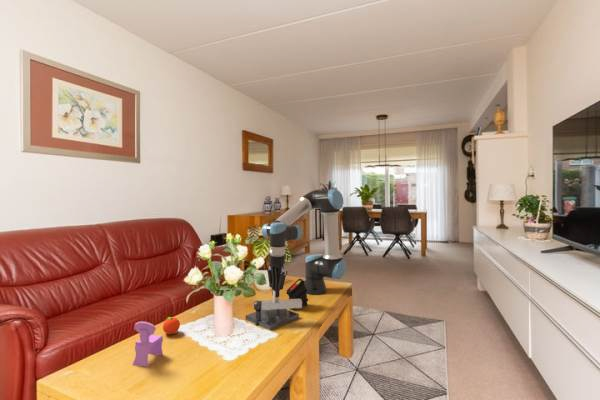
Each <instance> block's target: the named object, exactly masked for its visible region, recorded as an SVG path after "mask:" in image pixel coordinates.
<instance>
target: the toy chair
mask: <svg viewBox="0 0 600 400" xmlns="http://www.w3.org/2000/svg"><path fill="white" fill-rule="evenodd" d="M156 329H157V328H156V326H155V324H153V323H150V322H147V321H138V322H136V323H135V324H134V330H135V331H136V332H137V333H139V339H138V340H136V341H135V344H134V351H135V358H134V360H133V362H132V366H140V367H147V368H148V367H149V360H148V359H149V357H148V356H149V354H150V355H155V356H156V355H157V356H164V355H163V348H162V345H163V342H164V341H163V340H164V338H163V335H158V334H154V333H155V331H156Z"/></svg>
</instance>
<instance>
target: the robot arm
mask: <svg viewBox="0 0 600 400" xmlns="http://www.w3.org/2000/svg"><path fill="white" fill-rule="evenodd" d="M343 205H344V197H343V194H342V192H341V191H340V190H339V189H331V188H330V189H313V190H311V191H309V192H307V193H306V194H304V195H303V196H301V197H300V198H299V199H298V202H297V203H295V204H294V205H292V206H291V207H290V208H289V209H288V210H286V211H285V212H284V213H283V214H281V215H280V216H279V217H277V218H276V219H275V220H274V221H273V222H271V223H265V224H263V225H262V227H261V235H262V236H263V237H264V238H267V239H268V238H269V251H268V252H269V255H268V257H269V258H268V263H270V264H269V266H266V272H267V279H268V285H269V288H271V290H272V293H271V294H272V300H280V299H279V297H280V291H282V290H283V289H284V286H285V281H286V277H287V275H288V271H286V270H285V267H284V264H285V262H286V256H285V254H286V242H290V241H296V240H299V239H301V237H302V236H303V229H302V228H301V226H300V225H297V224H294V223H295V222H296V221H297V220H299V219H300V218H301V217H302V216H303V215H304V214H305V213H308V212H310V211H312V210H314V209H315V210H317V209H320V214H321V215H322V217H323V238H324V254H323V253H317V254H315V253H314V254H309V255H306V257H305V262H304V264H305V265H304V267H305V278H304V281H305V283H304V284H305V288H306V289H307V291H306V293H307V295H323V294H325V293H326V292H327V286H326V282H325V278H328V279H333V280H340V279H342V278H343V277H344V275H346V274H345V273H346V271H347V262H346V261H345V260H344V259H343V255H342V254H341V253H340V241H339V240H340V239H339V219H338V214H339V213H340V212H341V211H340V210H341V209H342V208H343V207H344V206H343Z"/></svg>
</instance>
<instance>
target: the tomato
mask: <svg viewBox="0 0 600 400" xmlns="http://www.w3.org/2000/svg"><path fill="white" fill-rule="evenodd" d="M164 320H165V321H163V324H162V330H163V332H164V333H165V334H167V335H174V334H176V333H177V332H178V330H179V329H180V326H181V323H180V320H179V319H178V318H177V317H175V316H173V317H171V316H168V317H166V318H165V319H164Z"/></svg>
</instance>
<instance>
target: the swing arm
mask: <svg viewBox="0 0 600 400" xmlns="http://www.w3.org/2000/svg"><path fill="white" fill-rule="evenodd" d="M290 308H299V309H303V307H302V300H301V299H289V298H288V299H287V298H286V299H285V298H284V299H279V300H273V299H269V300H268V299H266V300H265V299H264V300H255V301H254V302H253V310H255V311H256V310H269V309H287V310H290Z"/></svg>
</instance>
